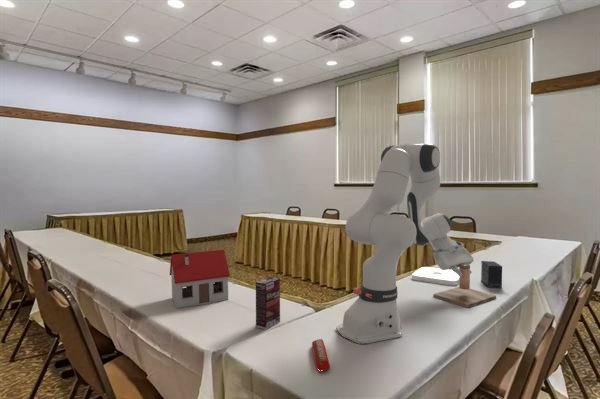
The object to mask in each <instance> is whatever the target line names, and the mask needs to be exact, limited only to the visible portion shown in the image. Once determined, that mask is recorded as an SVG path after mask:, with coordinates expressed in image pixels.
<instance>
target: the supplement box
mask: <svg viewBox="0 0 600 399" xmlns="http://www.w3.org/2000/svg"><path fill="white" fill-rule="evenodd" d="M280 279H281V278H278V277H273V276H270V277H267V278H265V279H262V280H260V281H259V280H258V281H256V282H255V327H256V328H258V329H260V328H261V330H264V329H265V331H267V330H268V329H270V328H272V327H273V326H275V325H277V324H278V322H279V323H280V322H281V285H280V284H281V283H280V282H281V280H280ZM276 323H277V324H276ZM271 326H272V327H271Z"/></svg>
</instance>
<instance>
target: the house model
mask: <svg viewBox="0 0 600 399" xmlns="http://www.w3.org/2000/svg"><path fill="white" fill-rule="evenodd" d="M169 276H171V297H172V298H171V299H172V300H173V303H174V305H175V307H176V309H180V308H186V307H191V306H204V305H209V304H213V303H215V302H222V301H227V300H229V277H230V269H229V266H228V261H227V257H226V252H225V249H217V250H206V251H198V252H188V253H178V254H177V253H176V254H171V256H170V266H169Z"/></svg>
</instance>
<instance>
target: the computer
mask: <svg viewBox="0 0 600 399" xmlns="http://www.w3.org/2000/svg"><path fill="white" fill-rule="evenodd" d="M411 280H413V281H418V282H419V281H420V282H426V283H432V284H439V285H445V286H457V285H459V275H458V274H457V273H455V272H454V271H453V270H452V269H448V270H444V271H443V270H441V269H440V268H439V267H438V268H437V267H432V266H431V267H429V266H421V267H420V268H418V269H417V270H415V271H414V272H413V273H412V274H411Z"/></svg>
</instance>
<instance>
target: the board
mask: <svg viewBox="0 0 600 399" xmlns="http://www.w3.org/2000/svg"><path fill="white" fill-rule="evenodd" d="M433 298H436V299H439V300H442V301H446V302H448V303H453V304H455V305H459V306H462V307H465V308H472V307H475V306H477V305H481V304H484V303H486V302H489V301H492V300H496V299H497V295H496V294H492V293H488V292H485V291H481V290H476V289H472V288H470V289H461V288H459V286H457V287H454V288H449V289H446V290H443V291H440V292H435V293H433Z"/></svg>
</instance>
